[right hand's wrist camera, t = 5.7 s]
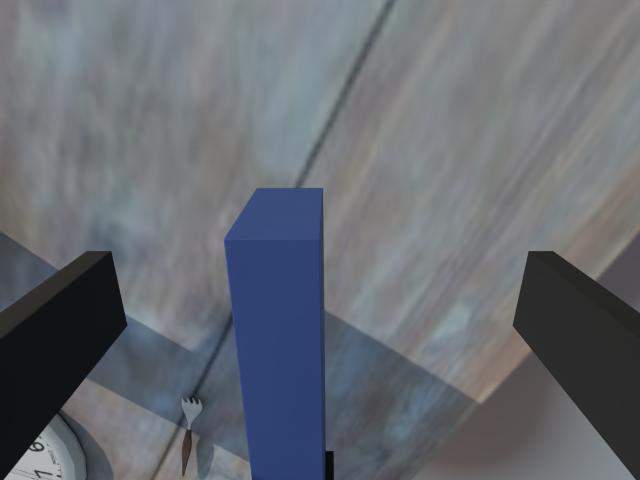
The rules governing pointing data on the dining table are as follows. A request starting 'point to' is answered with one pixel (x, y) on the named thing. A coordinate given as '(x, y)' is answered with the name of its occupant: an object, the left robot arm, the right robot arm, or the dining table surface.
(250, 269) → the bar
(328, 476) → the left robot arm
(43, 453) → the wall clock
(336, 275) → the dining table surface
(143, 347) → the dining table surface
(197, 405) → the fork
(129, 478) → the dining table surface
